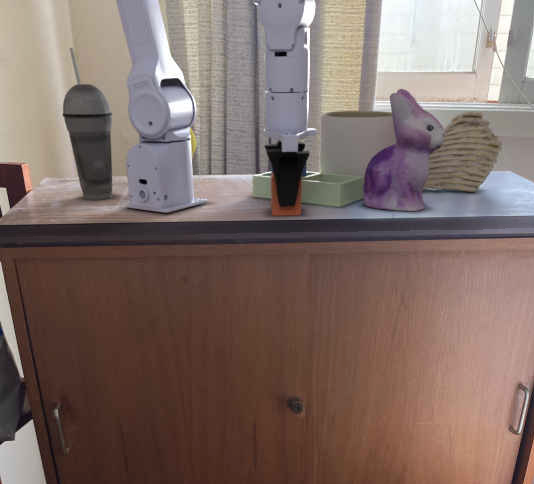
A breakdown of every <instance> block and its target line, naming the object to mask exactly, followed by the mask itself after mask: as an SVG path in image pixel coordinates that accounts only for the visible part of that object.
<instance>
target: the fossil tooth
mask: <svg viewBox="0 0 534 484" xmlns="http://www.w3.org/2000/svg"><path fill="white" fill-rule="evenodd" d="M483 117H484V114H483V112H478V111H468V112H462V113H460V114H457V115H456V116H454V117H452V119H451V120H450V122H449V123H448V124H447V125H446V126H445V128H444V129H445V132H446V134H445V138H444V142H443V144H442V146H441V147H440V148H439V149H438V150H436V151H434V152H432V153H431V154H430V156H429V176H428V178H427V180H426V182H425V185H424V187H423V188H422V191H423V190H428V189H429V190H430V189H434V190H439V189H441V190H454V191H460V192H468V193H475V192H477V191H478V190H479V189H480V186H481V185H483V183H484V182H485V181H486V180H487V178H488V177H489V175H490V174H491V172H492V171H493V169H494V165H495V164H497V162H498V160H497V159H498V158H499V157H500V155H499V154H500V153H501V152H502V149H503V147H502V145H503V142H502V141H501V140H499V139H498V137H499V135H495V133H494V132H493V131H492V129H491V128H489V125H490V124H491V123H490V121H489V120H488V119H486V118H483Z"/></svg>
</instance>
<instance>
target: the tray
mask: <svg viewBox="0 0 534 484" xmlns="http://www.w3.org/2000/svg"><path fill="white" fill-rule="evenodd" d="M364 182H365V177H362V176H361V177H360V176H351V175H341V174H330V173H322V172H320V171H319V172H317V171H309V170H306V176H305V177H302V180H301V204H302V203H303V204H310V205H319V206H326V207H327V206H328V207H337V208H340V207H343V206H346V205H349V204H351V203H352V204H353V203H355V202H357V201H360V200H363V198H364V193H363V191H362V187H363V185H364ZM252 197H253V198H260V199H268V200H269V199H270V200H271V170H270V171H266V172H262V173H258V174H254V175H252Z"/></svg>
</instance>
